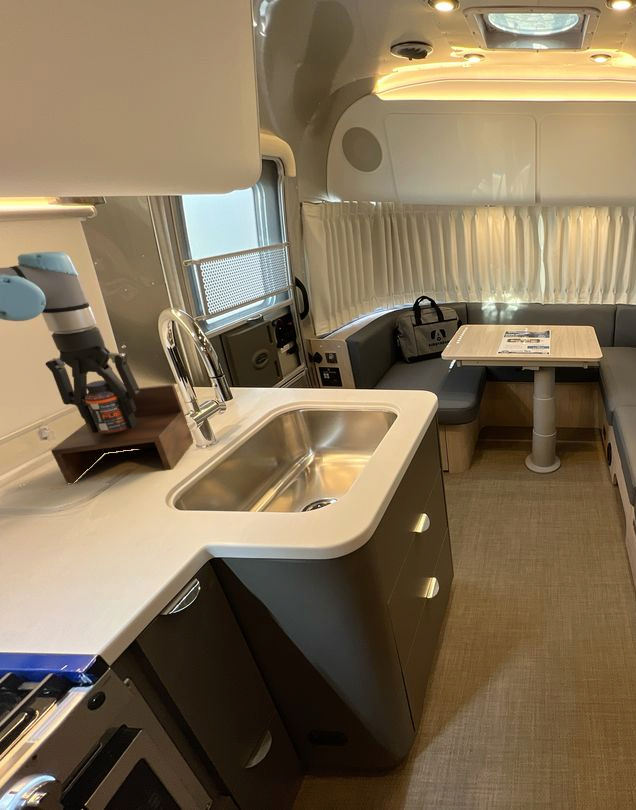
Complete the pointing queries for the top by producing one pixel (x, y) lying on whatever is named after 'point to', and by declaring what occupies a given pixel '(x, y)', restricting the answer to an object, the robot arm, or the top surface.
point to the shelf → (131, 434)
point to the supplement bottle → (105, 407)
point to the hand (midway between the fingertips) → (115, 427)
